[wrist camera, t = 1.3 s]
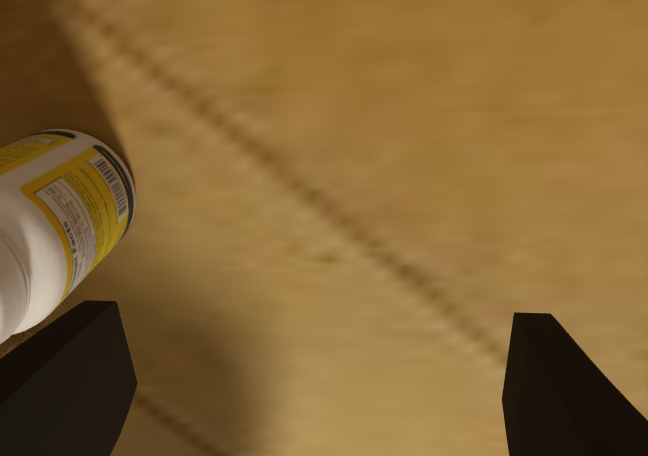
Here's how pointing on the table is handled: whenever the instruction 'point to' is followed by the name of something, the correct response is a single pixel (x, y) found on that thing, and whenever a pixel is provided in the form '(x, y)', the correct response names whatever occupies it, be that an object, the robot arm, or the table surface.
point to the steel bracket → (9, 344)
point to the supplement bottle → (56, 220)
